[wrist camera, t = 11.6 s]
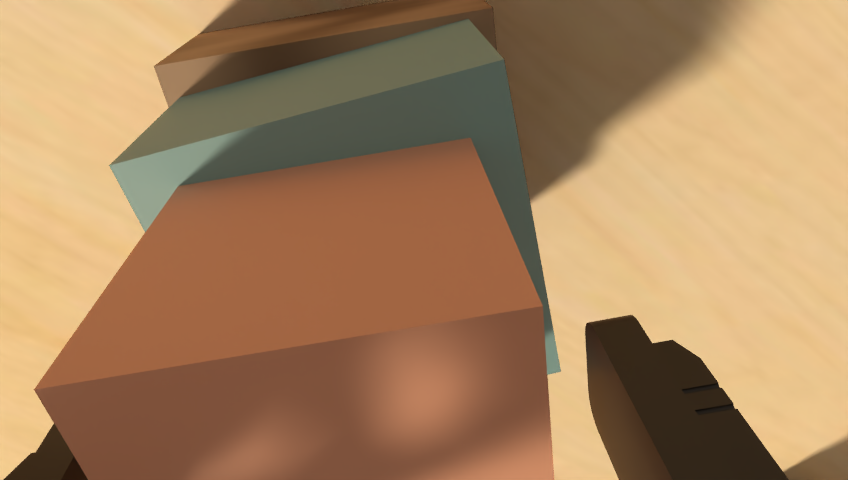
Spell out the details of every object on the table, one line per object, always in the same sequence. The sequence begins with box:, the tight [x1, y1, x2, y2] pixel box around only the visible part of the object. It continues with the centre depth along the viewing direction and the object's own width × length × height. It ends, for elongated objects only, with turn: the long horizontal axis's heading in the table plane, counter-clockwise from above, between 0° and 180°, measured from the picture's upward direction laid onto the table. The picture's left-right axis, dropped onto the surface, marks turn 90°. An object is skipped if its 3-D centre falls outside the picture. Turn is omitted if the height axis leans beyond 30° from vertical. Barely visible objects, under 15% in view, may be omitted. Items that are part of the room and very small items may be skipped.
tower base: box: [154, 0, 497, 107], centre depth 20 cm, size 9×9×5 cm
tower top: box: [109, 19, 561, 375], centre depth 16 cm, size 8×8×5 cm
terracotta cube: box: [34, 138, 554, 480], centre depth 11 cm, size 6×6×6 cm
